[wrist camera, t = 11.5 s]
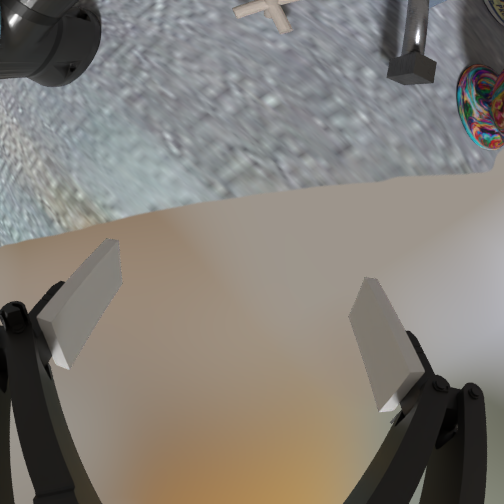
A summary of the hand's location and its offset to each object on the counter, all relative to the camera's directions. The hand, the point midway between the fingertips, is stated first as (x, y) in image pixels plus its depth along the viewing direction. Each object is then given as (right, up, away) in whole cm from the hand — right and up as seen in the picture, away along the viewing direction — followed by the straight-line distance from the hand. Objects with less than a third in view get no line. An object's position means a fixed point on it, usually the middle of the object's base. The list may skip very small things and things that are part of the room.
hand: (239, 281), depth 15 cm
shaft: (+23, +35, +11) cm, 43 cm away
